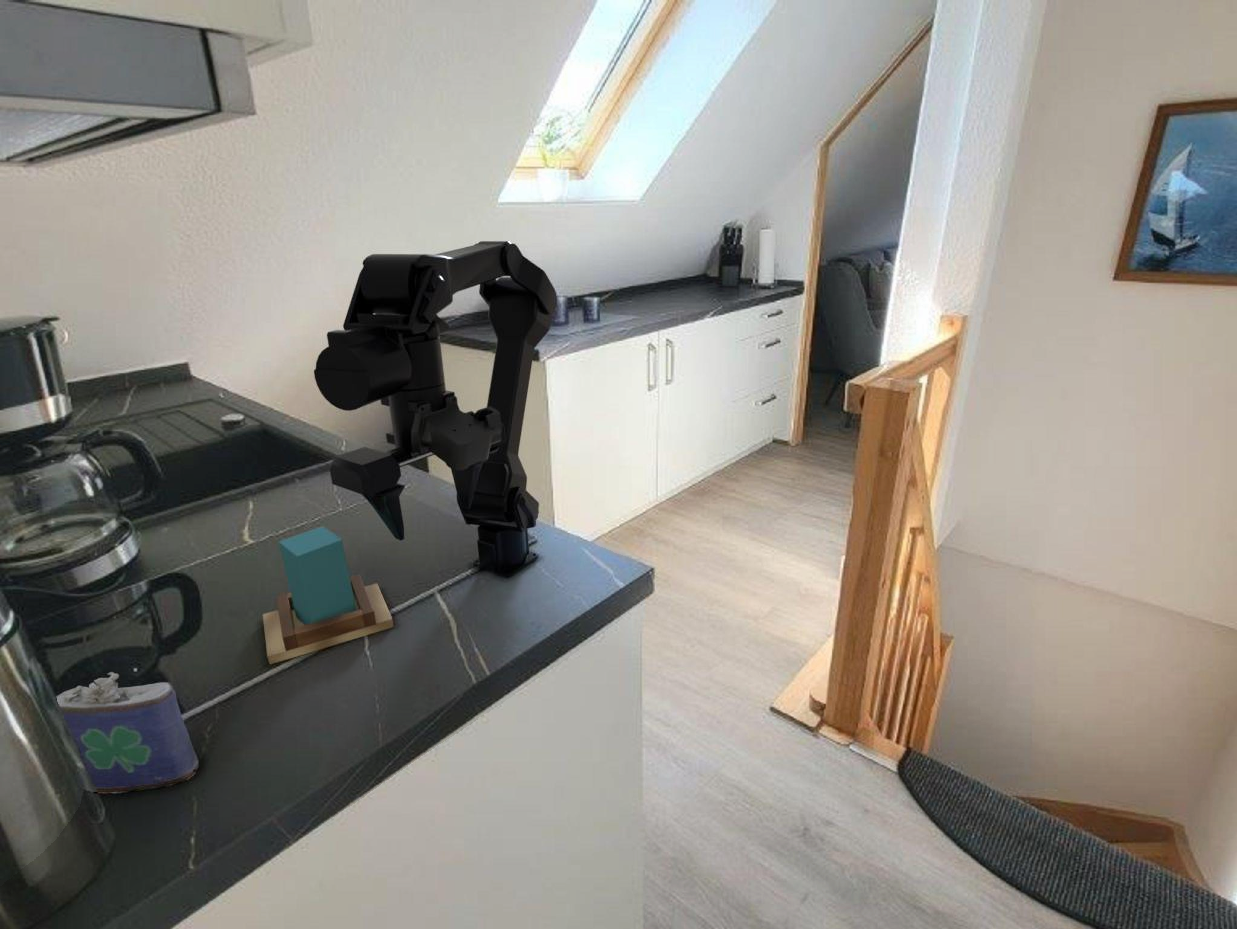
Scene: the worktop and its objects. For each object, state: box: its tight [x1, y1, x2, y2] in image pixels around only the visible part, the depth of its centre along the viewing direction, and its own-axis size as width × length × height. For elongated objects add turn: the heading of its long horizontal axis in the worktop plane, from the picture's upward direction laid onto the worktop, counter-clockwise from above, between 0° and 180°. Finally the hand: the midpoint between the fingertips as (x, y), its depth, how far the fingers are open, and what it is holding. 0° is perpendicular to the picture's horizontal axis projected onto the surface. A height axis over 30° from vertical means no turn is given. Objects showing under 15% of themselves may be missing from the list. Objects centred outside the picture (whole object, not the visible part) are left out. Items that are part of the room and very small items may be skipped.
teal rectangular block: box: [278, 525, 356, 625], centre depth 74 cm, size 5×5×10 cm
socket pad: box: [262, 573, 395, 665], centre depth 76 cm, size 13×9×3 cm
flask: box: [55, 671, 200, 794], centre depth 54 cm, size 9×3×11 cm, turn 95°
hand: (434, 522), depth 71 cm, fingers open, 9 cm apart
